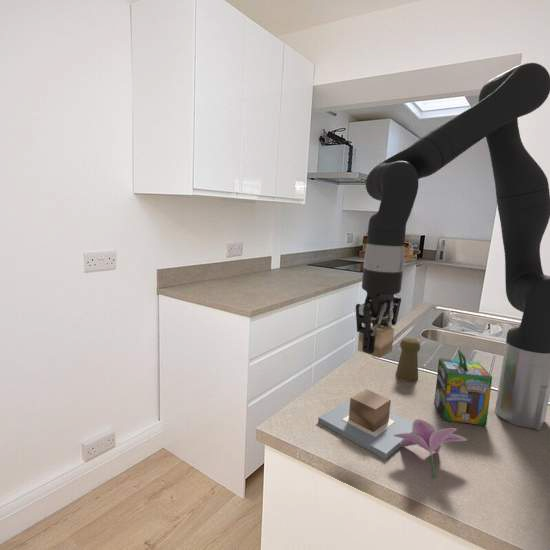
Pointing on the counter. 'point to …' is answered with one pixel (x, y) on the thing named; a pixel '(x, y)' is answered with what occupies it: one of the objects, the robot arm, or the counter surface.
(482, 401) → the chalk box
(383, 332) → the oak cube
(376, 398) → the walnut block
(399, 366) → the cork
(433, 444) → the lily
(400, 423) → the board
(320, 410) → the counter surface
